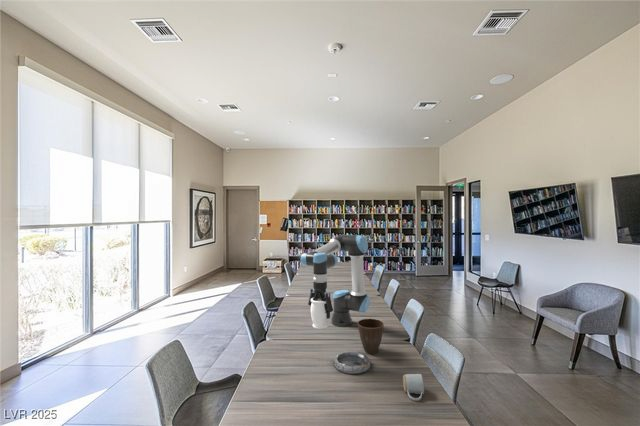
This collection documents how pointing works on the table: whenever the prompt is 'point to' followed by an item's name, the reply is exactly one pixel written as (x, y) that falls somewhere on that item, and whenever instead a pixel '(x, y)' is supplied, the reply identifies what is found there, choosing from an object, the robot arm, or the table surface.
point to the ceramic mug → (413, 385)
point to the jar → (318, 313)
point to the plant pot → (370, 334)
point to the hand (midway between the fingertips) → (320, 321)
